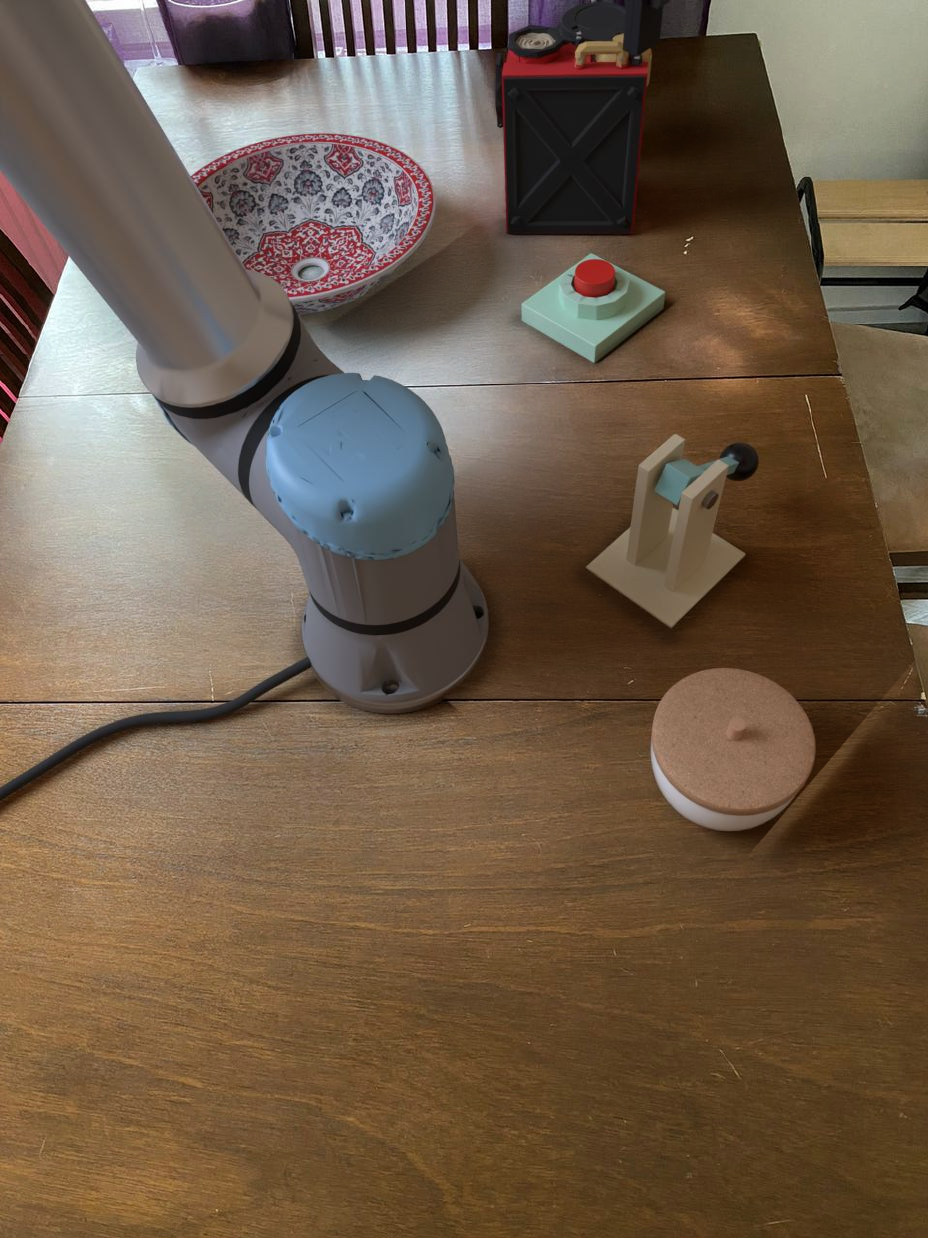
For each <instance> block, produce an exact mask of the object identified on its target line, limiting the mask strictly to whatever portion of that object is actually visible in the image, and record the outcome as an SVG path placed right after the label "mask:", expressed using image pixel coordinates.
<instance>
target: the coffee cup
mask: <svg viewBox="0 0 928 1238" xmlns="http://www.w3.org/2000/svg"><path fill="white" fill-rule="evenodd" d="M625 11H626V6H623V5H621V4H618V3H615V2H606V1H592V2H586V3H585V2H584V3H581V4H578V5H575V6H573V7H571V8H569V9H567V10H566V11H565V12H564V13H563V14H562V16H561V19H560V22H559V23H558V24H557V25H556V27H555V28H557V29H558V31H559V34H560V36H563V37H567V38H571V35H572V33H573V32H574V30H575V29H596V30H621V31H624V24H625ZM593 62H594V55H593Z"/></svg>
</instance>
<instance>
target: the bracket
mask: <svg viewBox="0 0 928 1238" xmlns="http://www.w3.org/2000/svg"><path fill="white" fill-rule="evenodd" d="M685 443H686V439H685V438H684V437H683V436H681V435H679V434H677V433H674V434H673V435H671V437H669V438H668V439H667V440H666V441H665V442H663V443H662V444H661V445H660V446H659V447H658V448H657V449H655V450H654V451H653V452H652V453H651V454H649V455H648V456H647V457H646V458H645V459H643V461H641V463H639V464H638V468H637V475H636V483H635V491H634V496H633V503H632V504H633V505H632V513H631V519H630V520H631V521H630V526H629V527H628V528H627V529H626V530H625V531H624V532H622V533H621V535H619V536H618V537H617V538H616V539H615V540H614V541H613V542H612V543H610V545H608V546H607V547H606V548H605V549H604V550H603V551H601V552H600V553H599V555H597V556H596V557H595V558H594V559H593V560H592V561H590V563H588V565H586V566H585V569H587V570H588V571H589V572H590V573H592V574H593V575H595V576H596V577H597V578H599V579H601V580H602V581H603V582H605V583H606V584H608V585H609V586H610V587H612V588H613V589H615V590H616V591H617V592H619V593H620V594H621V595H623V596H625V597H626V598H627V599H629V600H630V601H631V602H633V603H634V604H636V605H637V606H639V607H640V608H641V609H643V610H644V611H645V612H647V613H649V614H650V615H651V616H653V617H654V618H655V619H657V620H658V621H660V622H661V623H662V624H664V625H665V626H667V627H669V628H670V629H672V628H673V627H674V626H675V625H677V624H678V622H679V621H680V620H681V619H682V618H684V616H686V614H688V612H690V611H691V610H692V609H693V608H694V607H695V606H696V605H697V604H698V603H699V602H700V601H701V600H702V599H703V598H704V597H705V596H706V595H707V594H708V593H709V592H710V591H711V590H712V589H713V588H714V587H715V586H716V585H717V584H718V583H719V582H720V581H721V580H722V579H723V578H724V577H725V576H726V575H727V574H728V573H729V572H730V571H731V570H732V569H733V568H734V567H735V566H737V564H738V563H740V562H741V560H742V559H743V558H745V557H746V553H745V552H744V551H742V550H741V549H739V548H737V547H736V546H734V545H733V544H731V543H730V542H728V541H727V540H725V539H723V538H722V537H721V536H719V535H718V534H716V533H714V528H715V524H716V520H717V516H718V512H719V508H720V504H721V500H722V496H723V491H724V487H725V482H726V479H727V478H726V476H727V471H728V467H729V465H727V464H725V463H724V462H722V461H720V460H718V459H716V460H717V461H716V462H715V463H714V464H713V465H712V466H710V467H709V468H708V469H707V470H706V471H705V472H704V473H703V474H702V475H700V476H699V477H698V478H697V479H696V480H695V481H694V482H693V483H692V484H691V485H689V486H688V487H687V488H686V489H685V490H684V491H683V492H682V494H681V500H680V504H679V505H678V509H677V508H675V507H674V505H675V504H674V503H672V502H671V501H669V500H668V499H666V498H665V497H663V496H661V495H660V494H658V493H657V492H655V491H654V490H655V488H656V485H657V483H658V481H659V479H660V477H661V475H662V472H663V470H664V468H665V466H666V464H667V463H671V462H674V461H677V460H680V459H683V455H684V450H685V449H684V448H685Z"/></svg>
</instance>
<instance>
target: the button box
mask: <svg viewBox="0 0 928 1238" xmlns="http://www.w3.org/2000/svg"><path fill="white" fill-rule="evenodd" d="M590 259H600V260H604V261H607V260H605V259H603V258H601V257H600V256H598V255H596V254H594V253H592V252H591V253H589V254H587V255H586V256H585V257H584V258H582V259H581V260H579V261H578V262H576V263H575V264H574V265H573V266H571V267H570V268H567V270H565V271H564V272H563V273H561V274H560V275H559V276H557V277H556V278H554V279H553V280H552V281H551V282H549V283H548V284H546V285H545V286H543V287H542V288H541V289H539V290H537V292H535V293H534V294H533V295H531V296H530V297H528V298H527V299H526V300H524V301H523V302H522V303H521V304H520V305H521V322H524V324H527V325H529V326H530V327H532V328H533V329H534V330H537V331H539V332H541V333H542V334H544V335H546V336H547V337H549V338H550V339H552V340H554V341H556V342H558V343H559V344H561V345H562V346H564V347H566V348H568V349H569V350H571V351H573V352H575V353H576V354H577V355H580V356H581V357H583V358H585V359H587V361H590V362H591V363H594V364H595V363H597V362H598V361H599V360H600V359H602V358H604V357H605V356H606V355H607V354H609V352H611V351H612V350H613V349H615V348H616V347H617V346H618V345H619V344H621V343H622V342H623V341H624V340H626V339H627V338H629V337H630V336H631V335H633V333H635V332H636V331H637V330H639V329H640V328H641V327H642V326H644V325H645V324H646V323H647V322H649V321H650V320H652V318H654V317H655V316H657V315H658V314H659V313H660V312H661V311H664V307H665V300H666V299H665V298H666V291H665V290H664V289H661V288H659V287H657V286H655V285H653V284H652V283H649V282H648V281H646V280H644V279H642V278H640V277H638V276H636V275H634V274H632V273H630V272H629V271H627V270H625V269H622V268H621V267H619V266H617V265H615V264H613V263H611V262H609V261H607V262H609V263H610V264H612V266H613V267H614V269H615V281H614V288H613V290H612V292H611V293H610V294H608V295H607V296H602V297H598V298H593V297H584V296H582V295H581V294H579V293H578V292H577V291H576V290H575V287H574V281H575V269H576V267H577V266H578V265H579V264H580V263H582V262H583V261H586V260H590Z"/></svg>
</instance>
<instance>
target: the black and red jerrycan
mask: <svg viewBox="0 0 928 1238" xmlns="http://www.w3.org/2000/svg"><path fill="white" fill-rule="evenodd" d="M623 38H624V31H621V30H596V29H575V30H574V32H573V33H572V35H571V38H567V37H563V36H560V34H559V31H558V29H557V28H556V27H552V26H544V25H539V24H538V25H536V24H529V25H527V26H524V27H522V28H520V29H518V30H515V31H513V32H511V33H508V41H507V46H506V51H505V61H504V58H503V53H502V52H497V53H496V58H495V65H494V66H495V78H494V82H493V89H494V91H493V92H494V106H495V114H496V124H497V125H496V126H497V128H499V129H502V137H503V164H504V165H503V168H504V200H505V229H506V230H505V232H506V234H561V235H562V234H563V235H564V234H572V235H573V234H574V235H575V234H579V235H580V234H586V235H587V234H589V235H591V234H593V235H594V234H597V235H599V234H600V235H602V234H603V235H605V234H607V235H609V234H610V235H611V234H614V235H617V234H620V235H621V234H622V235H627V234H629V235H630V234H631V235H633V234H634V227H635V215H636V207H637V206H636V205H637V194H638V182H639V173H640V164H641V163H640V161H641V150H642V140H643V129H644V117H645V107H646V99H647V98H646V97H647V96H646V95H647V87H648V86H649V84H650V77H651V69H652V58H653V51H652V48H650V49H648V50H646V51H645V52H643V53H642V54H640V55H639V56H636V55H634V54H631V53H628V52H626V51H623ZM593 55H594V62H593Z"/></svg>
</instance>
